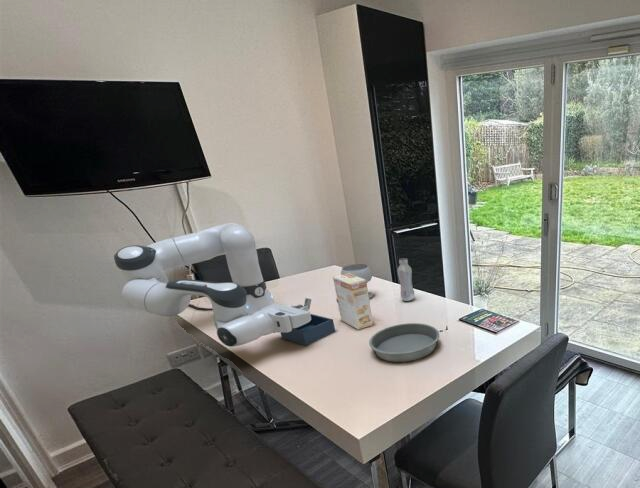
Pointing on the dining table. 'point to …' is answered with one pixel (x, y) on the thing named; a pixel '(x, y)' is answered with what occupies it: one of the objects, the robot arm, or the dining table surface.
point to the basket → (310, 330)
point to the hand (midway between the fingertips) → (304, 307)
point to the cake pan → (404, 342)
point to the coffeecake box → (353, 300)
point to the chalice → (359, 272)
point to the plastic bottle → (405, 280)
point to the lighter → (307, 303)
